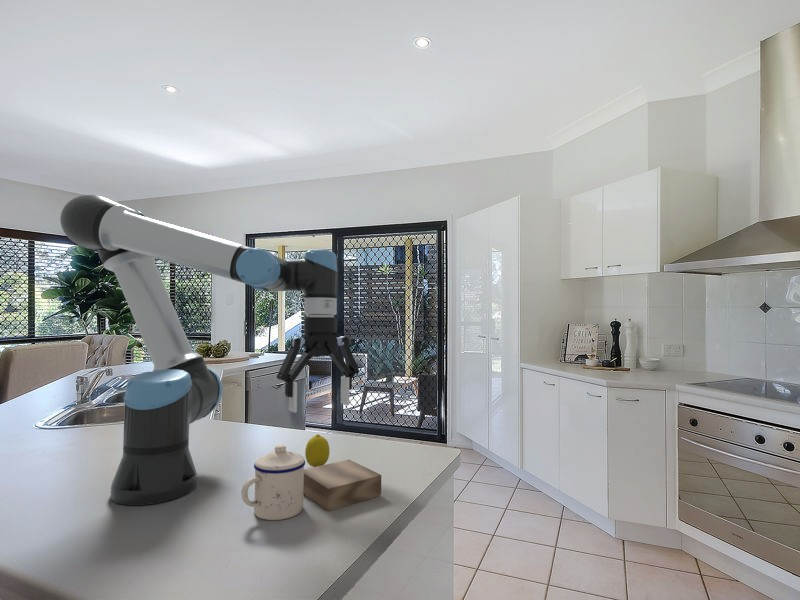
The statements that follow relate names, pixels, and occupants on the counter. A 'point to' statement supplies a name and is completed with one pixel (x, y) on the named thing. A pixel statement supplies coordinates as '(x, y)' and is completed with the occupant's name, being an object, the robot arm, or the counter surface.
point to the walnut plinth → (341, 484)
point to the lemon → (317, 451)
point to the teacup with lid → (277, 485)
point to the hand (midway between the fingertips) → (319, 407)
